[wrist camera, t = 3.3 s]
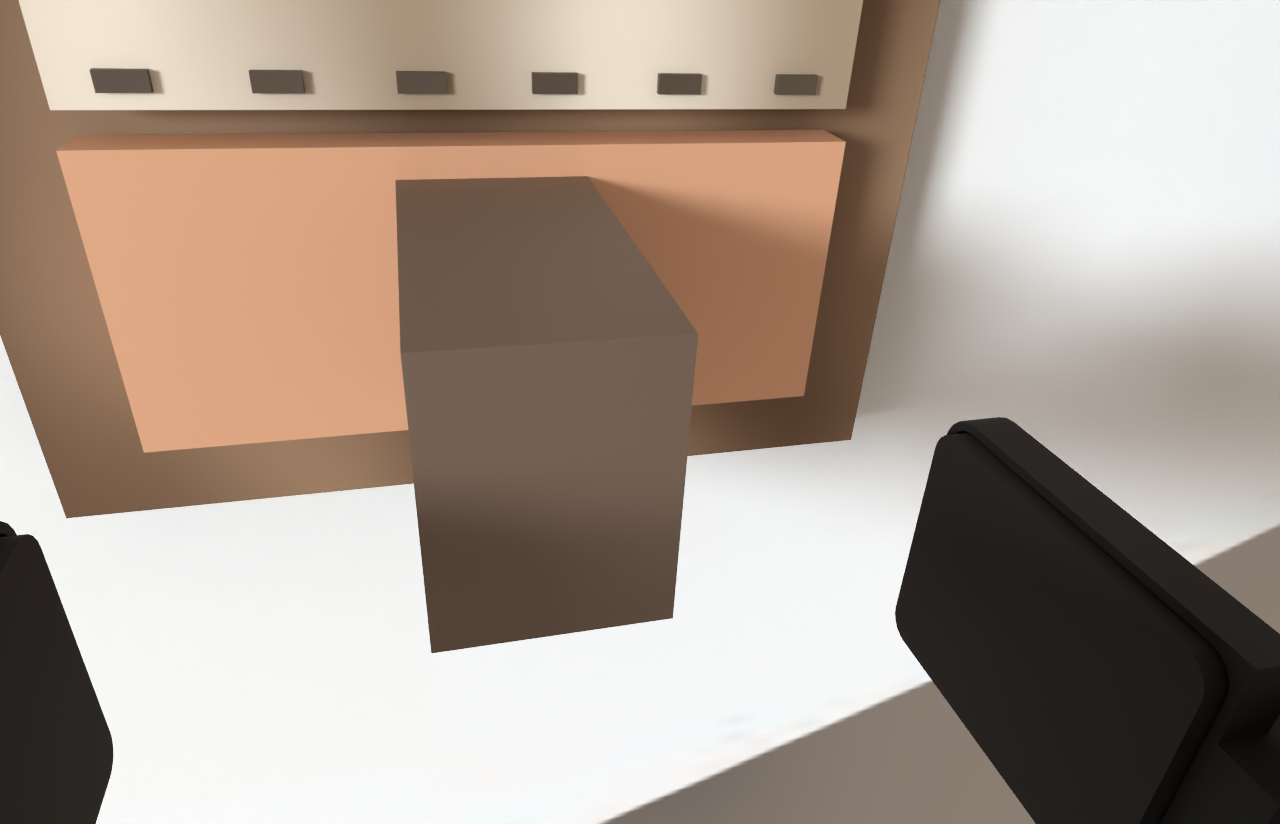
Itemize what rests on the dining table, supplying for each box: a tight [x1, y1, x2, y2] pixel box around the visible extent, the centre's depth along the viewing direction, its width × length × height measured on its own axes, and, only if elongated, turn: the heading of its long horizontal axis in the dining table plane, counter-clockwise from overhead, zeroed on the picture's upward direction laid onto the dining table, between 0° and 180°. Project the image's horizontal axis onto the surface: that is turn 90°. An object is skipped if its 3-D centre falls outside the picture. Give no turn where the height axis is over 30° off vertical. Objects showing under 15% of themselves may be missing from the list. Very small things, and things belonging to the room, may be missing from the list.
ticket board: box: [0, 0, 940, 518], centre depth 14 cm, size 16×15×3 cm
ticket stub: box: [56, 130, 846, 653], centre depth 12 cm, size 12×5×7 cm, turn 87°
